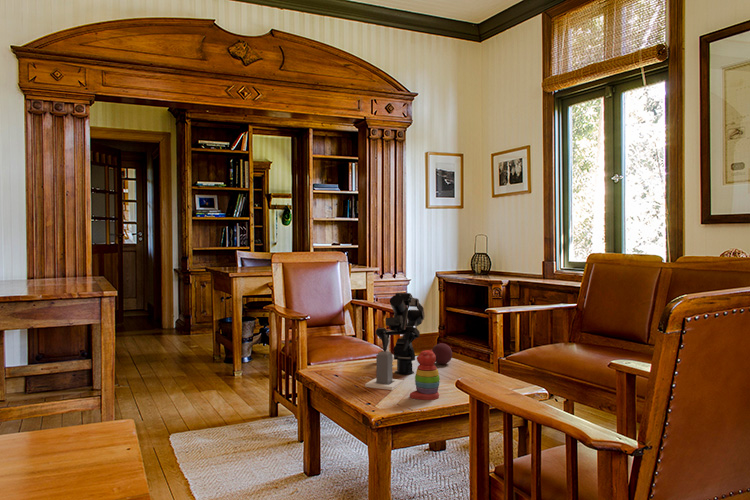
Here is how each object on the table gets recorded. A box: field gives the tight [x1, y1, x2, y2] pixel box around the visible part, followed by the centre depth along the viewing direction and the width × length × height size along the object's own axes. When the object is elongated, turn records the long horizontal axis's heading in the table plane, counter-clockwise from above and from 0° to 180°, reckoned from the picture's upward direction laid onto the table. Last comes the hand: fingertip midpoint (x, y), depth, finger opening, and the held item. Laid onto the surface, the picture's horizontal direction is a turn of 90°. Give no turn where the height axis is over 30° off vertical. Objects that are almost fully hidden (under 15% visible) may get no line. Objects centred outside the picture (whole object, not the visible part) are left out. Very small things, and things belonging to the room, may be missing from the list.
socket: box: [364, 377, 404, 391], centre depth 226 cm, size 12×12×1 cm
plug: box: [375, 350, 393, 385], centre depth 226 cm, size 5×5×13 cm
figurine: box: [386, 335, 395, 363], centre depth 265 cm, size 7×9×15 cm
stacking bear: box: [409, 349, 441, 401], centre depth 209 cm, size 11×10×18 cm
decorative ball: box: [431, 342, 453, 365], centre depth 263 cm, size 10×10×10 cm
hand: (394, 350), depth 229 cm, fingers open, 9 cm apart
